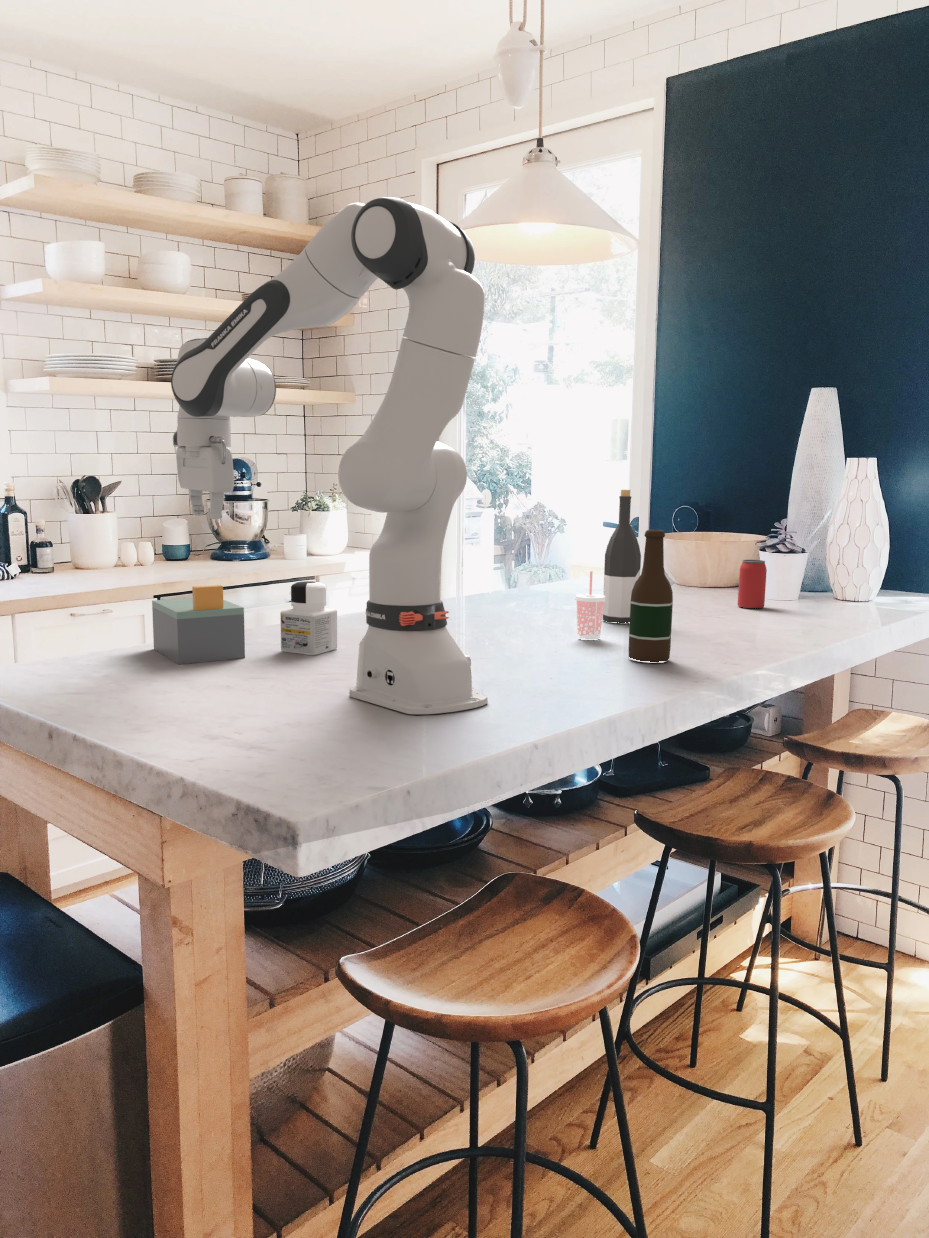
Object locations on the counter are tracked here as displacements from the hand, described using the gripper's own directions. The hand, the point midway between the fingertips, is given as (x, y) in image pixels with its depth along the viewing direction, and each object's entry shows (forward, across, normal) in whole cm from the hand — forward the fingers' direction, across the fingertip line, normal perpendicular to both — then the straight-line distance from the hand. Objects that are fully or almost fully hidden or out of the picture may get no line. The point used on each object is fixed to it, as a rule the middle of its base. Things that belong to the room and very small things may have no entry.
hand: (206, 517), depth 168 cm
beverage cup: (+25, -16, -74) cm, 80 cm away
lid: (+17, +6, 0) cm, 19 cm away
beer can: (+25, -1, -140) cm, 142 cm away
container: (+26, -1, -19) cm, 32 cm away
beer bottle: (+25, -38, -70) cm, 84 cm away
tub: (+25, +6, 0) cm, 26 cm away
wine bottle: (+25, -2, -95) cm, 98 cm away
